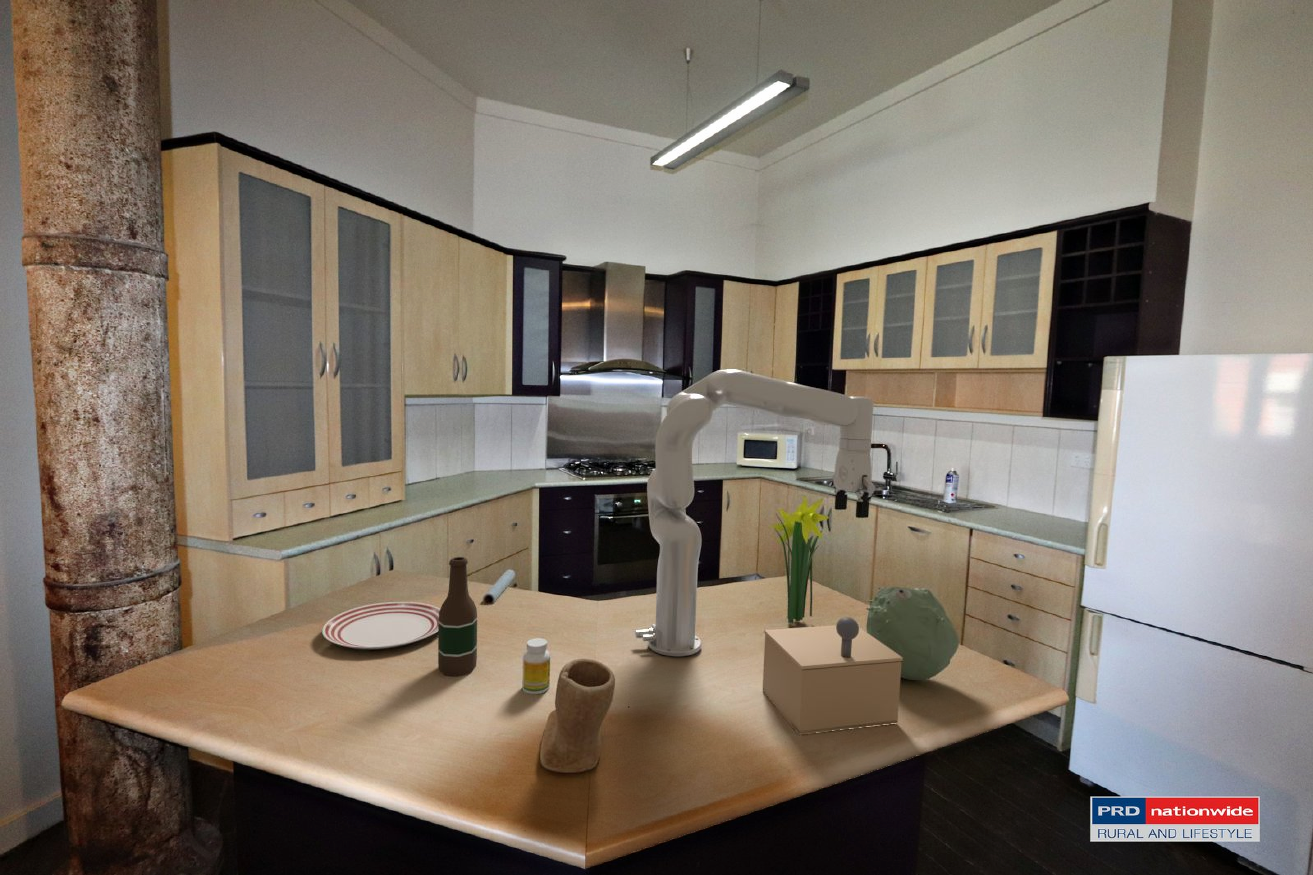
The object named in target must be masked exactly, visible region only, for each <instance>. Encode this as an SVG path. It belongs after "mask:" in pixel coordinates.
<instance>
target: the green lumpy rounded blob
mask: <svg viewBox="0 0 1313 875" xmlns="http://www.w3.org/2000/svg"><path fill="white" fill-rule="evenodd" d="M867 602H868V603H870V605H869V607H866V608H865V609H866V610H867V611H868V613H867V617H866V626H865V627H866V629H865V630H866V632H867V633H868V634H870V635H871V636H872V637H874V638H875V639H877V640H878V641H880V642H881V643H882V644H884V645H885V646H887V647H888V648H890V649H891V650H893V651H894V652H895V653H897V654H898V655H900V656H901V657H903V661H901V662H902V663H901V678H903V679H904V680H908V681H920V680H929V679H931V678H934V677H936V676H937V675H938V674H940V673H942V672H943V671H944V670H945V669H946V668H948V666H949V665H950V663H951V660H952V659H953V657H954V656H955V654H956V653H957V651H958V649H959V645H960V644H959V643H960V640H959V637H958V633H957V630H956V629H955V628H954V625H953V623H952V621H951V619H950V618H949V616H948V614H947V613H946V610H945V608H944V606H943V605H942V603H941V602H940V600H939V599H938V598H937V597H936V595H935V594H934V593H933V592H932V591H931V590H930V589H929V588H918V587H915V588H909V587H906V586H904V587H900V586H893V587H887V586H883V587H878V589H877V591H876V596H874V598H873V599H869V600H867Z"/></svg>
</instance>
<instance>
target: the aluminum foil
mask: <svg viewBox="0 0 1313 875" xmlns="http://www.w3.org/2000/svg"><path fill="white" fill-rule="evenodd" d="M515 577H516V572H515V571H514V570H513V569H506V571H504V573H503V574H501V576H500V577H499V578H498V579H497V580H496V582H495V583H494V584H493V585H492V586H491V587H490V588H489V590H488V591H486V593H485V594H484V596H483V598H482V602H483V604H487V603H488V602H489V601H490V600H491V598H492V601H491V602H490V604H495V602H496V601H497V600H498V598H500V596H502V594H503V593H504V591H505V590H506V589H507V588H508V586H509V585H510V584H511V583H512V581H513V580H514V579H515ZM504 588H506V589H504Z"/></svg>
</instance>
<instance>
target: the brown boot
mask: <svg viewBox="0 0 1313 875" xmlns="http://www.w3.org/2000/svg"><path fill="white" fill-rule="evenodd" d="M615 684H616V678H615V675H614V672H613V671H612V670H611V668H610V667H608V666H607V665H606V664H604V663H603V662H600V661H598V660H595V659H590V658H577V659H574V660H571V661H569V662H567V663H565V664H564V666H563V667H562V669H561V670H560V672H559V675H558V678H557V682H556V691H555V699H554V706H555V707H554V708H555V709H554V710H552V711H550V713H549V714H548V717H547V720H546V723H545V728H544V732H543V737H542V741H541V744H540V745H541V746H540V752H539V759H540V763H541V765H542V767H543V768H545V769H546V770H549V771H552V772H555V773H556V772H557V773H563V774H570V773H571V774H574V773H581V772H585V771H590V770H592V769H594V768H595V767H596V765H597V763H598V762H599V760H600V756H601V752H602V744H603V743H602V740H603V739H602V725H603V722H604V720H605V718H606V716H607V714H608V712H609V709H610V708H611V706H612V702H613V699H614V692H615V686H616V685H615Z"/></svg>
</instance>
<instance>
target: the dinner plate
mask: <svg viewBox="0 0 1313 875" xmlns="http://www.w3.org/2000/svg"><path fill="white" fill-rule="evenodd" d="M440 609H441V607H437V606H436V605H432V604H428V603H425V602H424V603H423V602H415V601H390V602H379V603H372V604H367V605H362V606H357V607H354V608H351V609H349V610H345V611H344V612H342V613H339V614H337V615H335V616H334V617H331V618H330V619H328V620H327V622H326V623H325V624H323V627H322V629H321V635H322V636H323V637H324V638H325V639H326V640H327V641H329V642H330V643H332V644H335V645H338V646H341V647H345V648H349V649H355V650H356V649H357V650H382V649H391V648H397V647H401V646H405V645H409V644H412V643H415V642H419V641H421V640H424V639H427V638H429V637H431V636H433V635H434V634H437V633H438V620H439V611H440Z"/></svg>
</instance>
